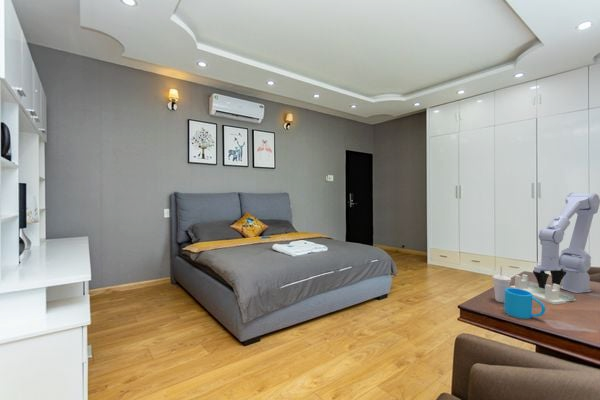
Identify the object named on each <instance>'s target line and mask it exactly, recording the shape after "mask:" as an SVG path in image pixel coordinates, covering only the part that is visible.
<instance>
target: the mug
mask: <svg viewBox="0 0 600 400" xmlns="http://www.w3.org/2000/svg"><path fill="white" fill-rule="evenodd" d="M533 301H535V302H537V303H538V304H539V305H540V307H541V311H540V312H539V313H536V314H535V313H534V314H533ZM503 307H504V308H503V309H504V310H503V311H505V312H504V313H505V314H506V313H507V315H508V314H509V316H511V317H514V318H518V319H531V318H535V317H536V318H537V317H542V316H543V315H544V314H545V313H546V307H545V304H544V303H543V302H542V301H541V300H540V299H537V298H535V297H533V294H532V293H530V292H528V291H526V290H522V289H516V288H510V287H509V288H507V289H505V302H504V306H503Z"/></svg>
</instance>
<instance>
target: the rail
mask: <svg viewBox="0 0 600 400" xmlns="http://www.w3.org/2000/svg"><path fill="white" fill-rule="evenodd" d="M528 287H529V288H532V289H535V290H538V291H541V292H544V293H545V289H543V288H540V287H539V285H538V282H535V281H529V280H528ZM552 289H553V287H552ZM559 298H562V299H565V300H568V301H569V302H575V301H574V299H575V295H574V294H572V293H569V292H565V291H563V290H560V295H559Z"/></svg>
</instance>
